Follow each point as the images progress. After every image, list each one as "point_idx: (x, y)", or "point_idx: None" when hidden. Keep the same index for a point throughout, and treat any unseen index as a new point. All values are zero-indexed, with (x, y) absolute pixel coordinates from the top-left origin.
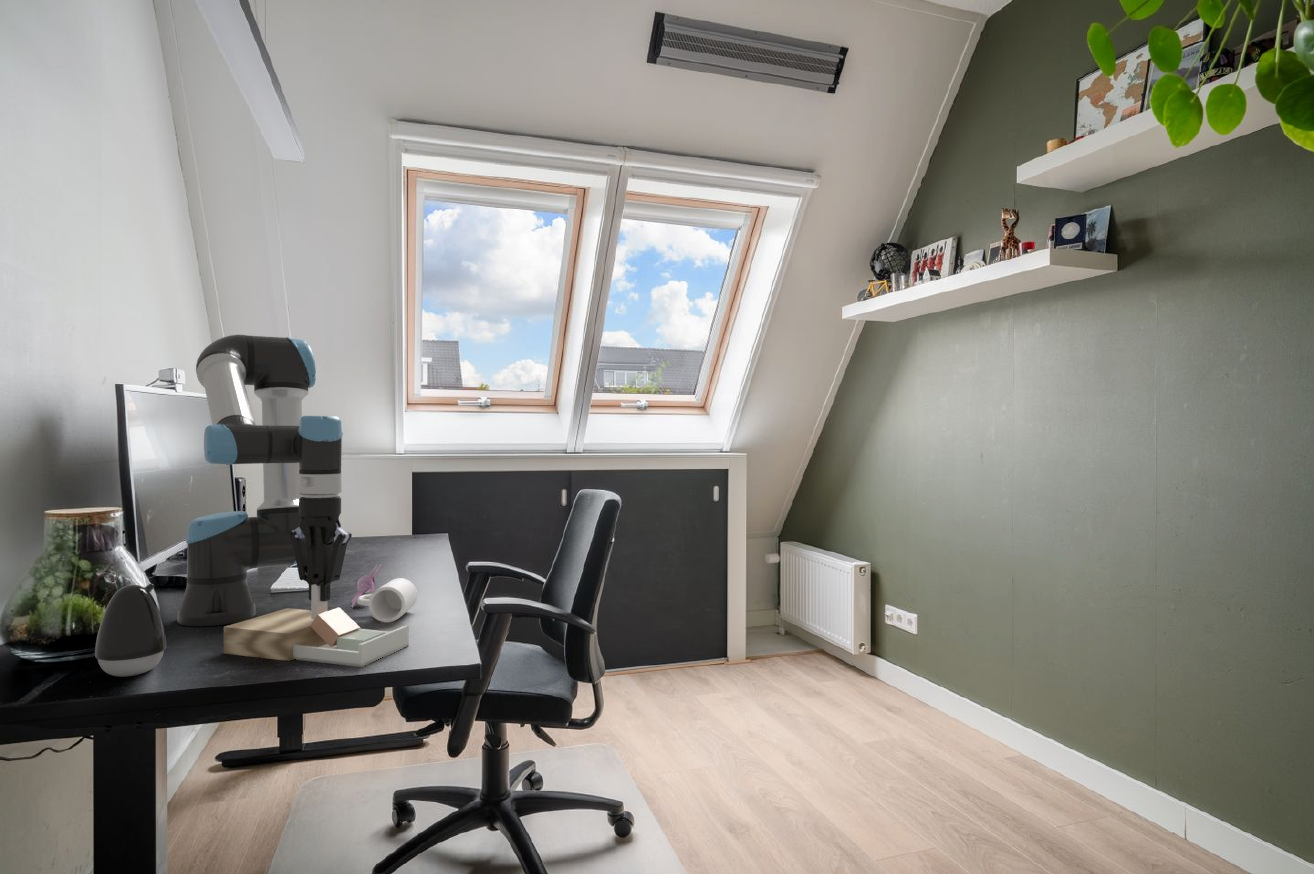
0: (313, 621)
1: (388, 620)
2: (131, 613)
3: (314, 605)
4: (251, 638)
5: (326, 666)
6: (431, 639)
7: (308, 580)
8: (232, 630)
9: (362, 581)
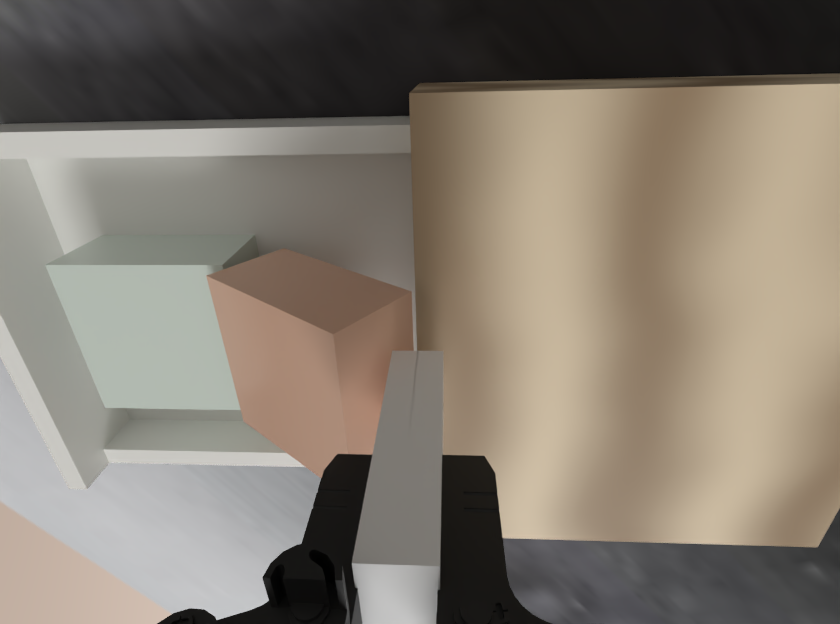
0: (378, 306)
1: None
2: None
3: (409, 410)
4: (739, 81)
5: (162, 72)
6: (132, 502)
7: (485, 621)
8: None
9: None
